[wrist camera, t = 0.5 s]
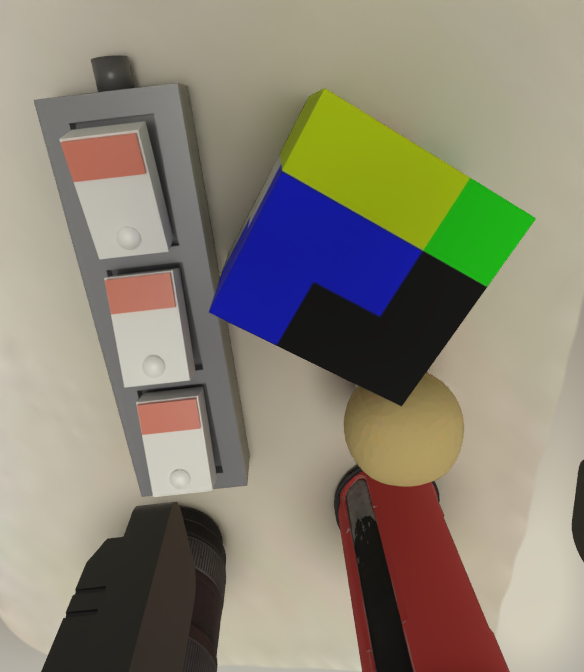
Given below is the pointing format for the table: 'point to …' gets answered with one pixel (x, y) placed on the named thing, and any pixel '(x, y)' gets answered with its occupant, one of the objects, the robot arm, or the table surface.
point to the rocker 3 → (177, 441)
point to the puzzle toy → (364, 250)
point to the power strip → (185, 253)
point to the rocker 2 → (151, 327)
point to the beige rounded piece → (405, 433)
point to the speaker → (409, 582)
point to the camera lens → (205, 591)
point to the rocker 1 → (119, 189)
